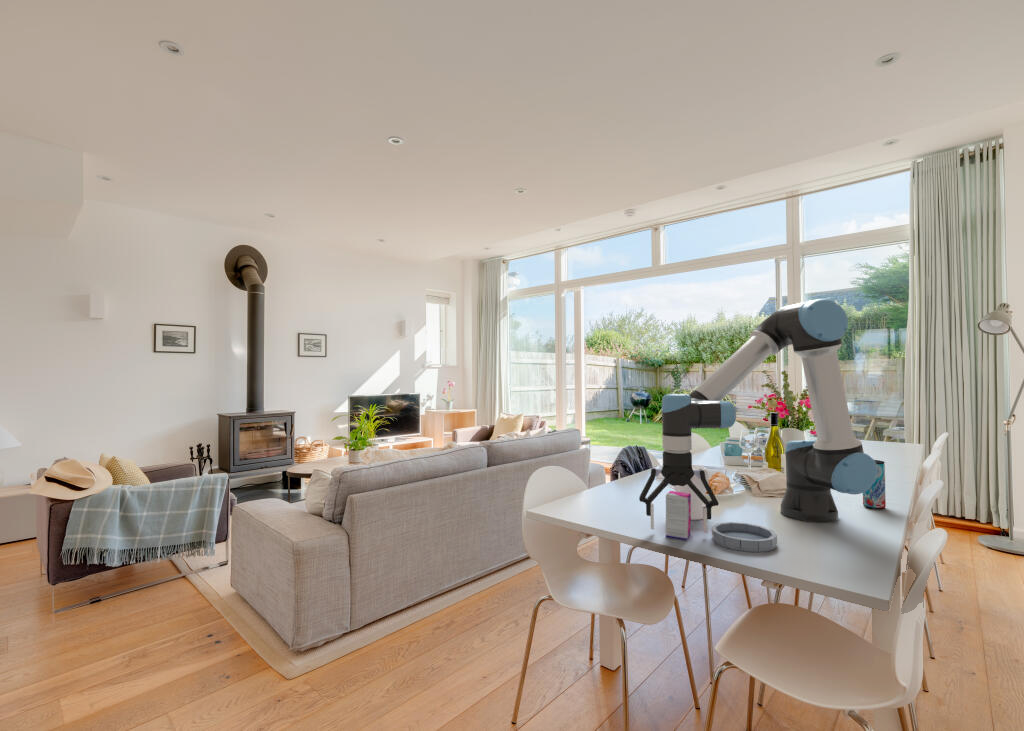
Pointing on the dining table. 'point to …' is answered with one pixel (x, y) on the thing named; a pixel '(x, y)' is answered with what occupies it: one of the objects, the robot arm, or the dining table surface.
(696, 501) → the cup
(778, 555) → the dining table surface
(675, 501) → the supplement box
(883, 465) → the beverage can
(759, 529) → the dish
